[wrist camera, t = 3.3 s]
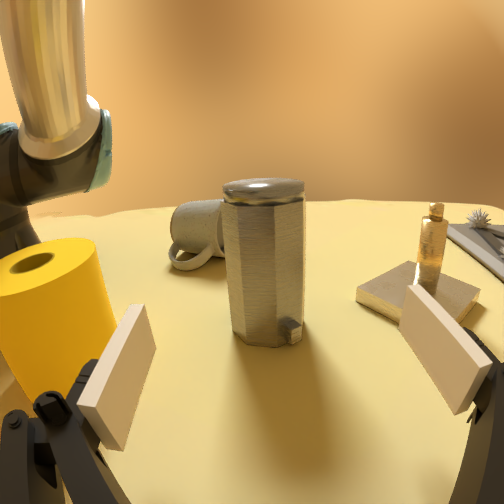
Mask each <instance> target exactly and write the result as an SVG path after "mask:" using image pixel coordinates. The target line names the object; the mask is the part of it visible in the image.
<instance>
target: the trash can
mask: <svg viewBox="0 0 504 504" xmlns="http://www.w3.org/2000/svg"><path fill="white" fill-rule="evenodd" d="M220 204H221V216H222V228H223V239H224V250H225V261H226V272H227V282H228V292H229V302H230V312H231V321H232V330H233V331H234V332H235V333H236V334H237V335H238V336H239V337H240V338H241V339H242V340H243V341H244V342H245V343H246V344H247V345H256V346H266V347H279V346H281V345H283V344H286V343H290V344H291V345H292V344H294V343H296V342H298V341H300V340H302V326H303V320H304V293H305V241H306V203H305V194H304V182H302V181H300V180H295V179H287V178H259V179H246V180H239V181H234V182H230V183H227V184H224V185H223V200H221V201H220Z"/></svg>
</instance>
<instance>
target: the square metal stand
mask: <svg viewBox="0 0 504 504" xmlns="http://www.w3.org/2000/svg"><path fill="white" fill-rule="evenodd" d="M443 212H444V204H442V203H438V202H430V209H429V216H424V217H423V218H422V227H421V235H420V243H419V250H418V257H417V263H414V262H411V261H407V262H405V263H403V264H401V265H399V266H398V267H396V268H394V269H392V270H390V271H388V272H386V273H384V274H382V275H380V276H378V277H376V278H374V279H372V280H370V281H368V282H366V283H364V284H362V285H360V286H358V287H357V292H356V300H355V301H357V302H359V303H361V304H363V305H365V306H367V307H369V308H371V309H373V310H374V311H376V312H378V313H380V314H382V315H384V316H386V317H388V318H390V319H392V320H394V321H395V322H397V323H400V318H401V314H402V309H403V304H404V300H405V294H406V289H407V286H408V285H416V284H419V285H420V286H422V287H423V288H424V289H425V290H426V291H427V292H428V293H429V294H430V295H431V296H432V297H433V298H434V299H435V300H436V301H437V302H438V303H439V304H440V305H441V306H442V307H443V309H444V310H445V311H446V312H447V313H448V314H449V315H450V316H451V317H452V318H453V319H454V320H455V321H456V322H457V323H458V324H459V323H460V322H461V321H462V320H463V319H464V317H465V316H466V315H467V314H468V313H469V311H470V310H471V309H472V308H473V306H474V305H475V304H476V302H477V301H478V297H479V294H480V290H481V289H479V288H477V287H474V286H472V285H469V284H467V283H465V282H462V281H460V280H457V279H455V278H452V277H450V276H447V275H445V274H442V273H440V271H441V266H442V261H443V255H444V249H445V243H446V237H447V230H448V221H447V220H445V219H443Z"/></svg>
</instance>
